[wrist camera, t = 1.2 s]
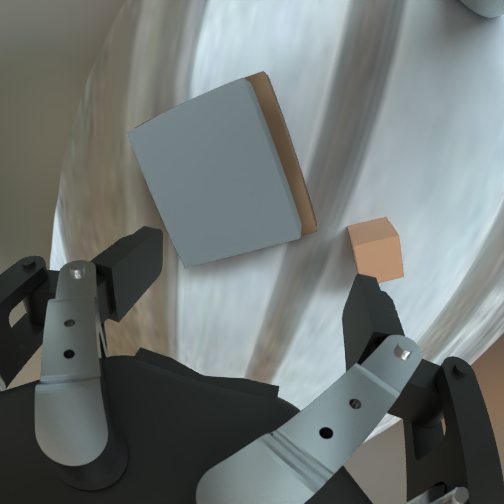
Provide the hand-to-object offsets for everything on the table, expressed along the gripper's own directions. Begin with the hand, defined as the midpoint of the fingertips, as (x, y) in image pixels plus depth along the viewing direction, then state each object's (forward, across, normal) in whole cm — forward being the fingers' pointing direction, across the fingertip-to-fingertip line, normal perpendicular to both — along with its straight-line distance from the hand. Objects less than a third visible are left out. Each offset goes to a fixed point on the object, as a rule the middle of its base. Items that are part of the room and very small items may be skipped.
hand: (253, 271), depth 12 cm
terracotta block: (+24, -11, +6) cm, 27 cm away
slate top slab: (+20, +7, +1) cm, 22 cm away
